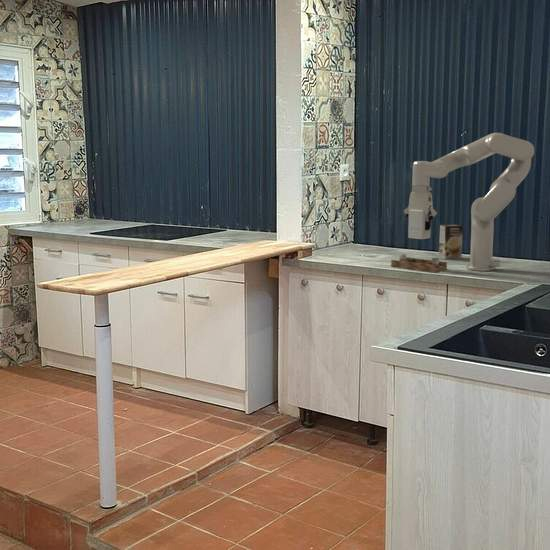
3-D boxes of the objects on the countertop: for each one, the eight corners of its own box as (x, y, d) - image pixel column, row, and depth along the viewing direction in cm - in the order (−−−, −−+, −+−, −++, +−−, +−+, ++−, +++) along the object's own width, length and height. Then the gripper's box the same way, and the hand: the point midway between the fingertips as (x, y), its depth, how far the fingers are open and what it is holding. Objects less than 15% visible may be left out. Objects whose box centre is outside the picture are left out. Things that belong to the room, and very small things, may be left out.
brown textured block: (446, 269, 349) (447, 257, 348) (433, 272, 341) (434, 260, 340) (404, 263, 364) (404, 252, 363) (391, 267, 356) (391, 255, 355)
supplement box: (430, 237, 350) (431, 209, 348) (421, 239, 345) (422, 210, 342) (416, 236, 355) (417, 208, 353) (407, 238, 350) (408, 209, 347)
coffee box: (444, 259, 374) (445, 226, 371) (438, 257, 380) (439, 224, 377) (462, 258, 377) (463, 225, 374) (455, 256, 383) (456, 223, 380)
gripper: (442, 189, 343) (441, 230, 346) (408, 188, 354) (407, 227, 358) (433, 190, 338) (432, 231, 341) (399, 189, 349) (398, 228, 352)
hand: (419, 229), depth 349 cm, fingers closed on supplement box, 7 cm apart
